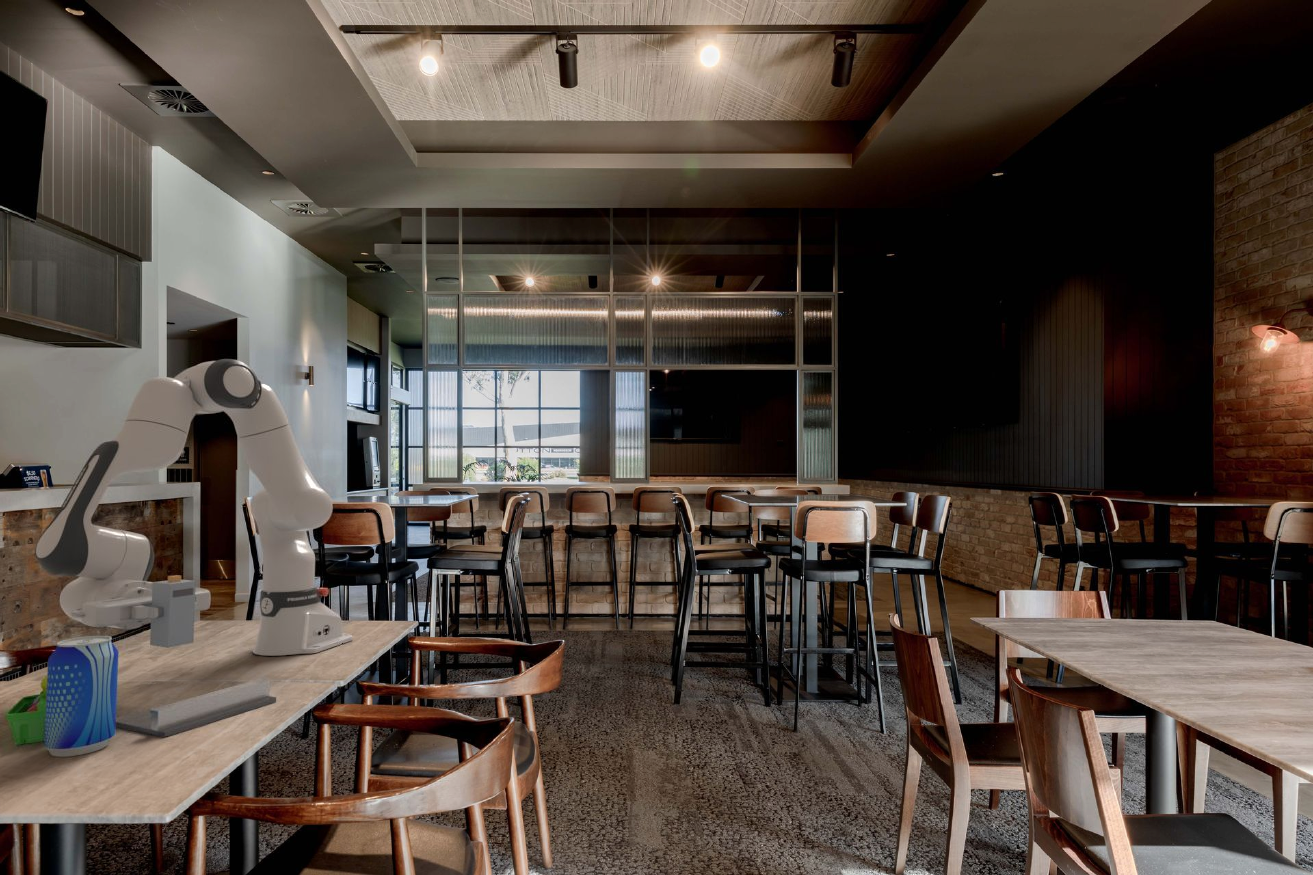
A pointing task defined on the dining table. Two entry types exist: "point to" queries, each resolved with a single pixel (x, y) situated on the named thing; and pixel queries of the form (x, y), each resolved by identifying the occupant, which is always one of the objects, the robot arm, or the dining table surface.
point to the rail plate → (147, 716)
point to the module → (173, 612)
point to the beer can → (81, 696)
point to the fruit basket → (29, 717)
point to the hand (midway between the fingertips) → (176, 609)
